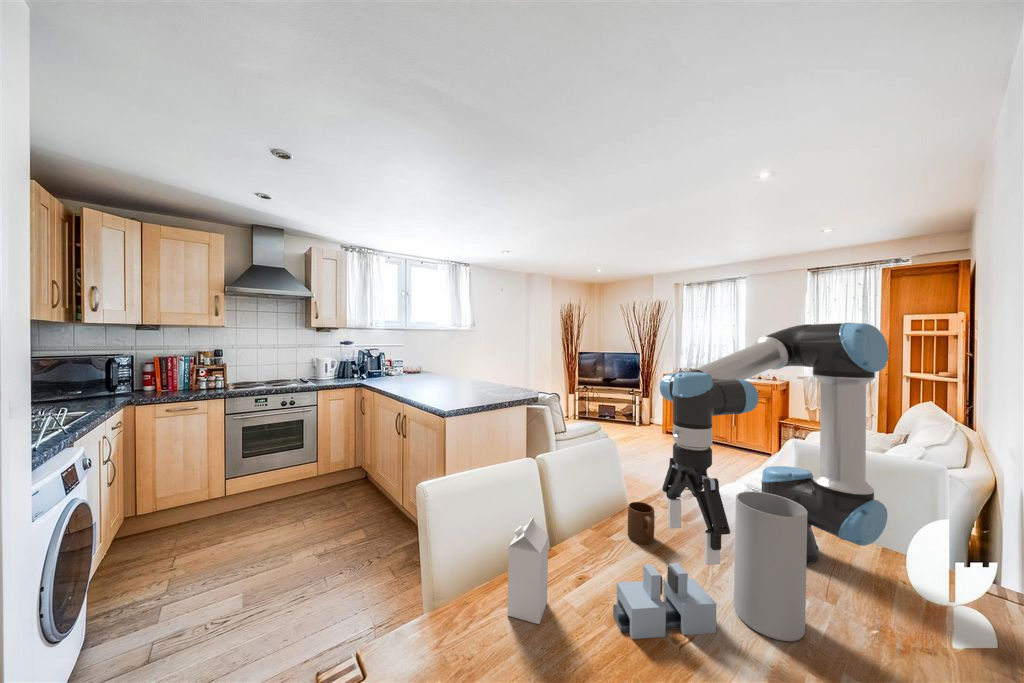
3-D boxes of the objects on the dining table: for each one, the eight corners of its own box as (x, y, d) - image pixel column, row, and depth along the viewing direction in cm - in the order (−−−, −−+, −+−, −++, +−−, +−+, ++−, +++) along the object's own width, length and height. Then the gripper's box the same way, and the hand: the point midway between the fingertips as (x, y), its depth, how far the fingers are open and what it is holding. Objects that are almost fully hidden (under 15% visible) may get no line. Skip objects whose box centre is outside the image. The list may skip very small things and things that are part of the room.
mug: (665, 554, 102) (666, 520, 102) (638, 554, 102) (639, 520, 102) (647, 531, 114) (648, 501, 114) (623, 531, 114) (624, 501, 114)
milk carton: (547, 602, 82) (548, 518, 82) (539, 625, 76) (540, 534, 76) (517, 594, 85) (518, 513, 85) (507, 616, 78) (508, 527, 78)
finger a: (648, 607, 81) (649, 558, 81) (667, 636, 73) (668, 582, 73) (616, 609, 81) (617, 559, 81) (631, 639, 73) (632, 583, 73)
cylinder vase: (811, 653, 70) (813, 523, 70) (734, 627, 76) (737, 507, 76) (798, 611, 81) (800, 499, 81) (732, 592, 87) (734, 487, 87)
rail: (700, 611, 80) (701, 599, 80) (713, 626, 76) (713, 613, 76) (613, 616, 78) (613, 604, 78) (620, 632, 74) (621, 619, 74)
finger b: (692, 604, 83) (693, 556, 83) (715, 632, 75) (717, 579, 75) (661, 606, 82) (662, 557, 82) (681, 635, 74) (682, 580, 74)
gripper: (647, 430, 90) (647, 516, 90) (713, 466, 65) (713, 584, 65) (676, 429, 91) (676, 514, 91) (752, 464, 66) (752, 581, 66)
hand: (691, 544), depth 78 cm, fingers open, 13 cm apart
